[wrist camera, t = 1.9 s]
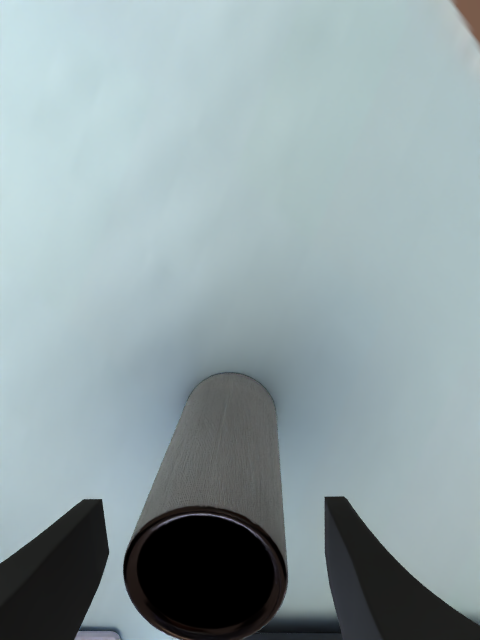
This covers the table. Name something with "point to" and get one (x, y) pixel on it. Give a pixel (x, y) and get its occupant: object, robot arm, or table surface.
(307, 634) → the pencil case
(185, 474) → the planter
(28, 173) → the table surface
